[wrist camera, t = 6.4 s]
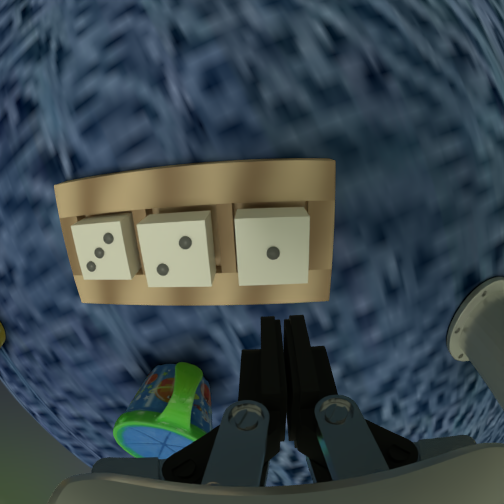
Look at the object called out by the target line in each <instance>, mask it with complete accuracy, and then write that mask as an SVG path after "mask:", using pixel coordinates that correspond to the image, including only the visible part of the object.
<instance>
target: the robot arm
mask: <svg viewBox="0 0 504 504" xmlns="http://www.w3.org/2000/svg"><path fill="white" fill-rule="evenodd" d="M447 348H448V351H449V352H450V354H451V355H452V356H453V358H454V359H456V360H458V361H469V360H470V361H471V363H472V364H473V366H474V367H475V368H476V370H477V371H478V373H479V374H480V375H481V377H482V378H483V380H484V381H485V383H486V384H487V386H488V387H489V389H490V390H491V392H492V393H493V395H494V396H495V398H496V399H497V401H498V402H499V404H500V406H501V407H502V409H503V410H504V277H494V278H492V279H489V280H487V281H486V282H484V283H482V284H481V285H480V286H478V287H477V288H476V289H475V290H474V291H473V292H472V293H471V294H470V295H469V296H468V297H467V298H466V299H465V301H464V302H463V303H462V304H461V306H460V308H459V309H458V311H457V312H456V314H455V316H454V318H453V320H452V322H451V325H450V327H449V330H448V335H447ZM286 412H287V424H288V437H289V441H294V443H295V448H297V449H298V451H300V452H301V453H303V454H304V455H306V461H307V464H308V468H309V471H310V474H311V477H312V480H313V484H303V485H291V486H272V487H265V486H266V481H267V475H268V470H269V464H270V459H271V458H272V457H274V456H275V455H276V454H277V453H278V452H279V451H280V441H284V440H285V426H286ZM47 504H504V444H502V443H481V444H476V442H475V440H474V439H473V438H472V437H470V436H467V435H458V436H451V437H442V438H433V439H422V440H418V442H411V441H410V440H408V439H406V438H404V437H402V436H399V435H397V434H395V433H393V432H391V431H389V430H387V429H384V428H382V427H380V426H378V425H376V424H374V423H372V422H370V421H368V420H366V419H364V417H363V415H362V413H361V411H360V409H359V407H358V405H357V404H356V403H355V401H353V400H352V399H351V398H349V397H346V396H344V395H338V393H337V389H336V386H335V382H334V378H333V374H332V371H331V367H330V363H329V359H328V356H327V352H326V349H325V347H324V346H315V347H311V346H310V341H309V337H308V333H307V328H306V324H305V319H304V315H292V316H289V319H284V352H283V343H282V333H281V324H280V320H275V317H274V316H268V317H261V349H252V350H242V354H241V368H240V382H239V397H238V402H235V403H233V404H231V405H230V406H229V407H228V408H227V409H226V410H225V412H224V414H223V417H222V420H221V424H220V425H219V426H217V427H216V428H214V429H213V430H211V431H210V432H208V433H207V434H205V435H204V436H202V437H200V438H199V439H197V440H196V441H194V442H192V443H191V444H189V445H188V446H186V447H184V448H183V449H181V450H179V451H178V452H176V453H174V454H172V455H171V456H170V457H168V458H167V459H158V457H144V458H113V457H108V458H102V459H100V460H98V461H97V462H96V463H95V464H94V465H93V468H92V472H91V473H86V474H79V475H74V476H71V477H68V478H66V479H64V480H63V481H62V482H61V483H60V484H59V485H58V486H57V487H56V489H55V490H54V492H53V493H52V495H51V497H50V499H49V500H48V503H47Z"/></svg>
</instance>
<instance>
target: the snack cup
mask: <svg viewBox="0 0 504 504" xmlns="http://www.w3.org/2000/svg"><path fill="white" fill-rule="evenodd" d="M211 430H212V412H211V391H210V385H209V383H208V381H206V380H205V378H204V377H203V372H202V370H201V369H199V368H198V367H197V366H195V365H192V364H189V363H185V362H179V363H177V364H164V365H158V366H156V367H155V368H154V369H153V370H152V371H151V373H150V374H149V375H148V376H147V378H146V380H145V381H144V383H143V384H142V386H141V387H140V389H139V391H138V392H137V394H136V395H135V397H134V399H133V400H132V402H131V403H130V405H129V407H128V408H127V410H126V412H125V413H124V414H122V415H121V416H120V417H119V418H118V419H117V421H116V423H115V426H114V429H113V435H114V438H115V440H116V441H117V443H118V444H119V445H120V446H121V447H122V448H123V449H124V450H125V451H127V452H128V453H129V454H131V455H132V456H134V457H136V458H144V457H158V459H167V458H168V457H170V456H171V455H172V454H174V453H176V452H178V451H179V450H181V449H183V448H184V447H186V446H188V445H189V444H191V443H192V442H194V441H196V440H197V439H199V438H200V437H202V436H204V435H205V434H207V433H208V432H210V431H211Z"/></svg>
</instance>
